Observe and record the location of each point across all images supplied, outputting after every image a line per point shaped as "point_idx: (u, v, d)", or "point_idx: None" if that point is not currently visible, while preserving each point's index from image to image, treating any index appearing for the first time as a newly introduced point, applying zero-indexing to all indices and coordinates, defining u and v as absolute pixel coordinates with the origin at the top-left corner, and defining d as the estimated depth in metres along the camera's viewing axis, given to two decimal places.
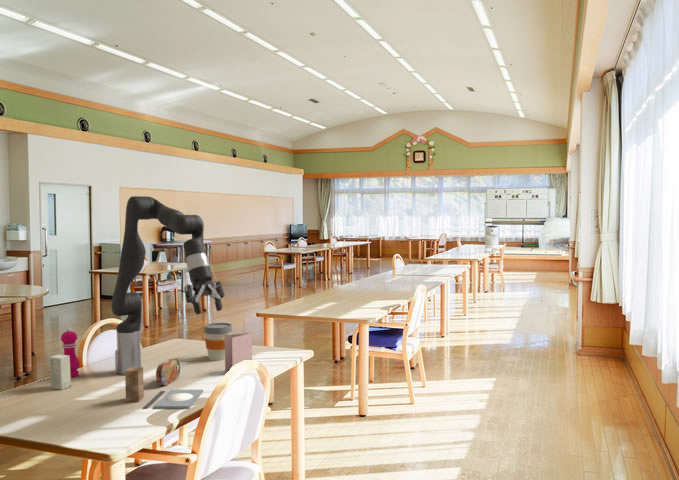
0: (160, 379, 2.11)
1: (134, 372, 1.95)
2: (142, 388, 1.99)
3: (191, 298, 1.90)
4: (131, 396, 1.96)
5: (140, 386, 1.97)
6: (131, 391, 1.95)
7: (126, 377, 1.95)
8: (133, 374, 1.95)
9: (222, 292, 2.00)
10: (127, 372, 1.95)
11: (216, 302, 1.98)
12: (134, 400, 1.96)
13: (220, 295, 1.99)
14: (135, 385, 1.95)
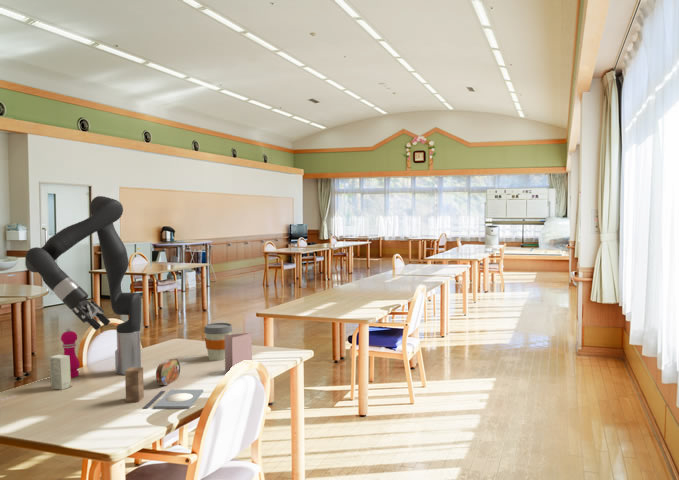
0: (160, 379, 2.11)
1: (134, 372, 1.95)
2: (142, 388, 1.99)
3: None
4: (131, 396, 1.96)
5: (140, 386, 1.97)
6: (131, 391, 1.95)
7: (126, 377, 1.95)
8: (133, 374, 1.95)
9: None
10: (127, 372, 1.95)
11: None
12: (134, 400, 1.96)
13: None
14: (135, 385, 1.95)
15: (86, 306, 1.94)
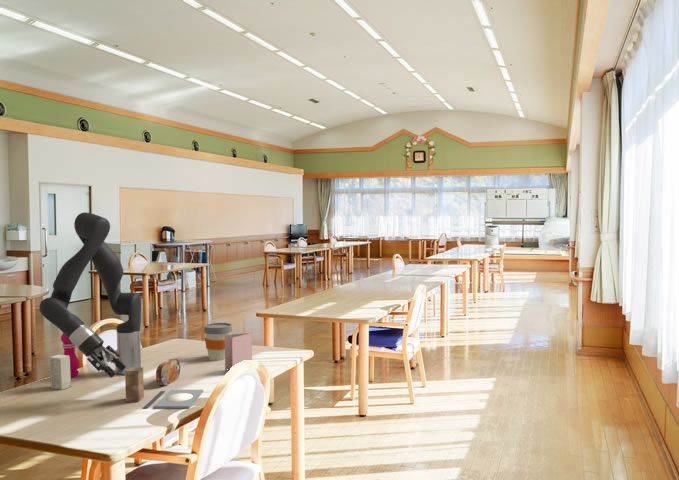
0: (160, 379, 2.11)
1: (134, 372, 1.95)
2: (142, 388, 1.99)
3: None
4: (131, 396, 1.96)
5: (140, 386, 1.97)
6: (131, 391, 1.95)
7: (126, 377, 1.95)
8: (133, 374, 1.95)
9: None
10: (127, 372, 1.95)
11: None
12: (134, 400, 1.96)
13: None
14: (135, 385, 1.95)
15: (101, 353, 1.95)
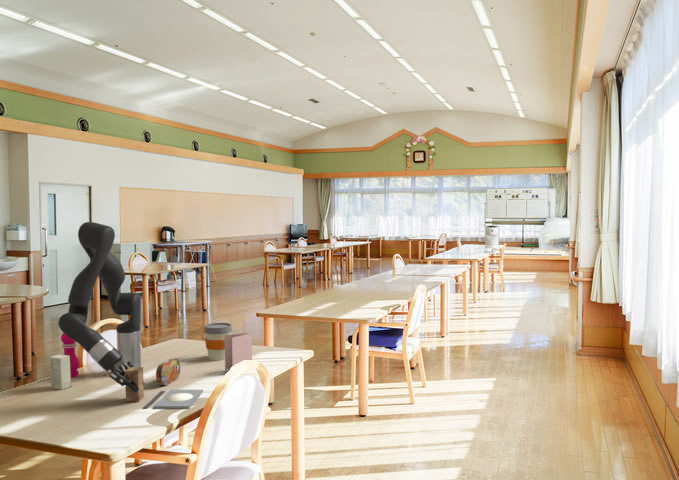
0: (160, 379, 2.11)
1: (134, 372, 1.95)
2: (142, 388, 1.99)
3: None
4: (131, 396, 1.96)
5: (140, 386, 1.97)
6: (131, 391, 1.95)
7: None
8: (133, 374, 1.95)
9: None
10: (127, 372, 1.95)
11: None
12: (134, 400, 1.96)
13: None
14: None
15: (121, 368, 1.95)
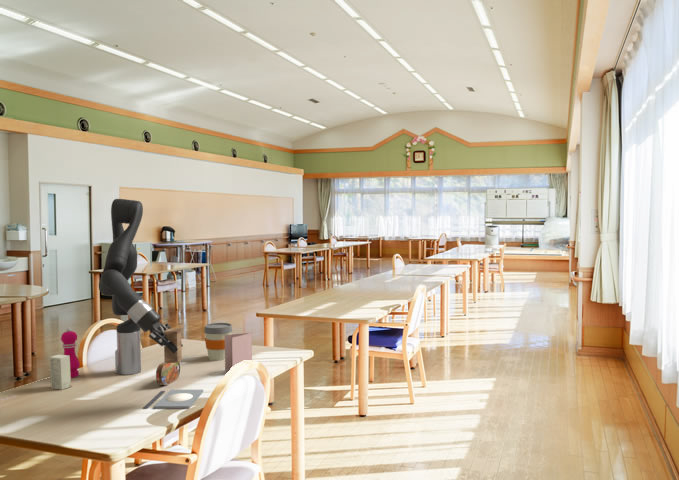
0: (160, 379, 2.11)
1: (173, 333, 1.94)
2: (180, 349, 1.98)
3: None
4: (169, 357, 1.94)
5: (179, 347, 1.96)
6: (170, 352, 1.94)
7: None
8: (172, 334, 1.94)
9: None
10: (166, 332, 1.94)
11: None
12: (173, 361, 1.94)
13: None
14: None
15: (160, 329, 1.94)
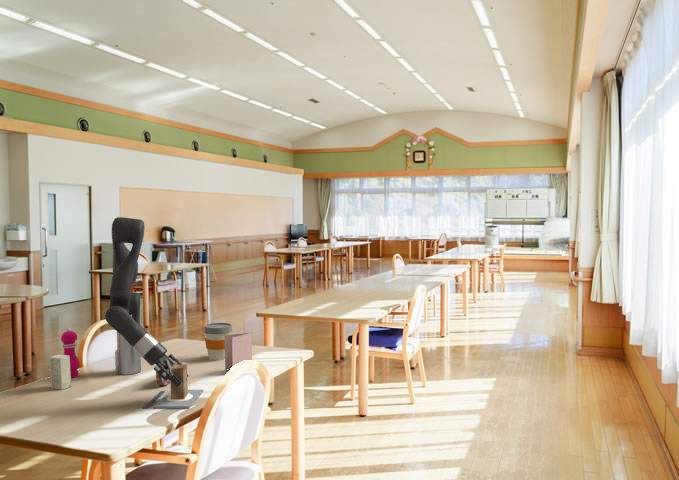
0: (160, 379, 2.11)
1: (179, 369, 1.95)
2: (186, 385, 1.99)
3: None
4: (176, 393, 1.95)
5: (185, 384, 1.97)
6: (176, 388, 1.95)
7: None
8: (178, 371, 1.95)
9: None
10: (172, 369, 1.95)
11: None
12: (179, 397, 1.95)
13: None
14: None
15: (166, 362, 1.95)
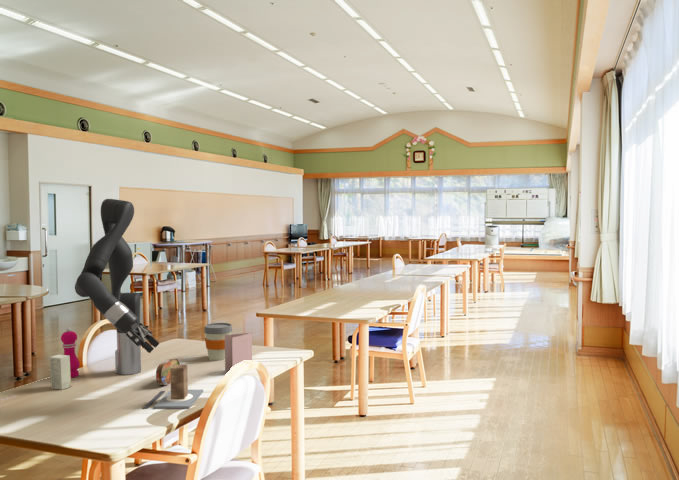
0: (160, 379, 2.11)
1: (179, 369, 1.95)
2: (187, 385, 1.99)
3: None
4: (176, 393, 1.95)
5: (185, 384, 1.97)
6: (176, 388, 1.95)
7: (171, 375, 1.95)
8: (178, 371, 1.95)
9: None
10: (173, 369, 1.95)
11: None
12: (179, 397, 1.95)
13: None
14: (180, 382, 1.95)
15: (138, 329, 1.96)
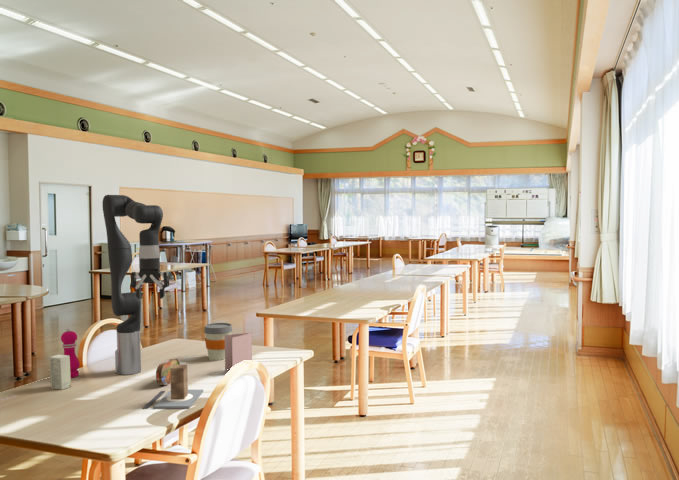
0: (160, 379, 2.11)
1: (179, 369, 1.95)
2: (187, 385, 1.99)
3: (132, 285, 2.15)
4: (176, 393, 1.95)
5: (185, 384, 1.97)
6: (176, 388, 1.95)
7: (171, 375, 1.95)
8: (178, 371, 1.95)
9: (165, 283, 2.15)
10: (173, 369, 1.95)
11: None
12: (179, 397, 1.95)
13: (164, 285, 2.15)
14: (180, 382, 1.95)
15: None
